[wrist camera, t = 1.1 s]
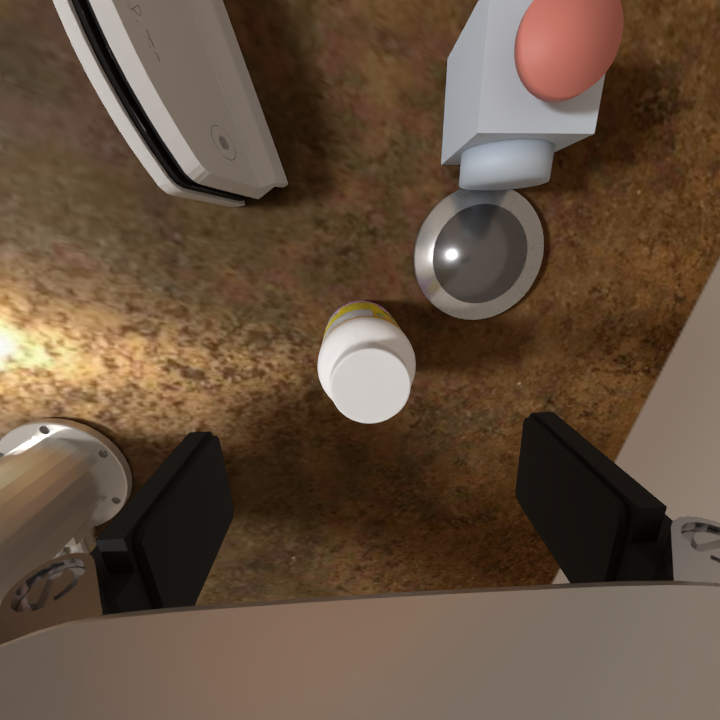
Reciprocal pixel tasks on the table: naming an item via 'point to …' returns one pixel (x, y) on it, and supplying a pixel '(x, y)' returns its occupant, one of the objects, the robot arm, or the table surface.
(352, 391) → the supplement bottle
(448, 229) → the gray metal plate
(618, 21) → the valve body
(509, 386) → the table surface
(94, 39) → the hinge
